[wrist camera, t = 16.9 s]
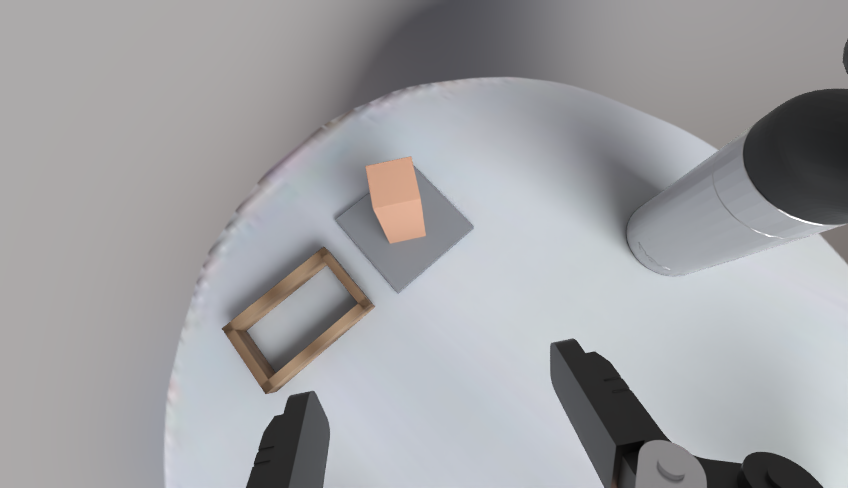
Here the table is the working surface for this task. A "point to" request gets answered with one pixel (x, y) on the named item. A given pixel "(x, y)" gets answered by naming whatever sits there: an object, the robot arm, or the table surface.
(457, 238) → the slate mat
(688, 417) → the table surface
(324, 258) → the walnut cradle
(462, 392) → the table surface
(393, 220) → the terracotta block
